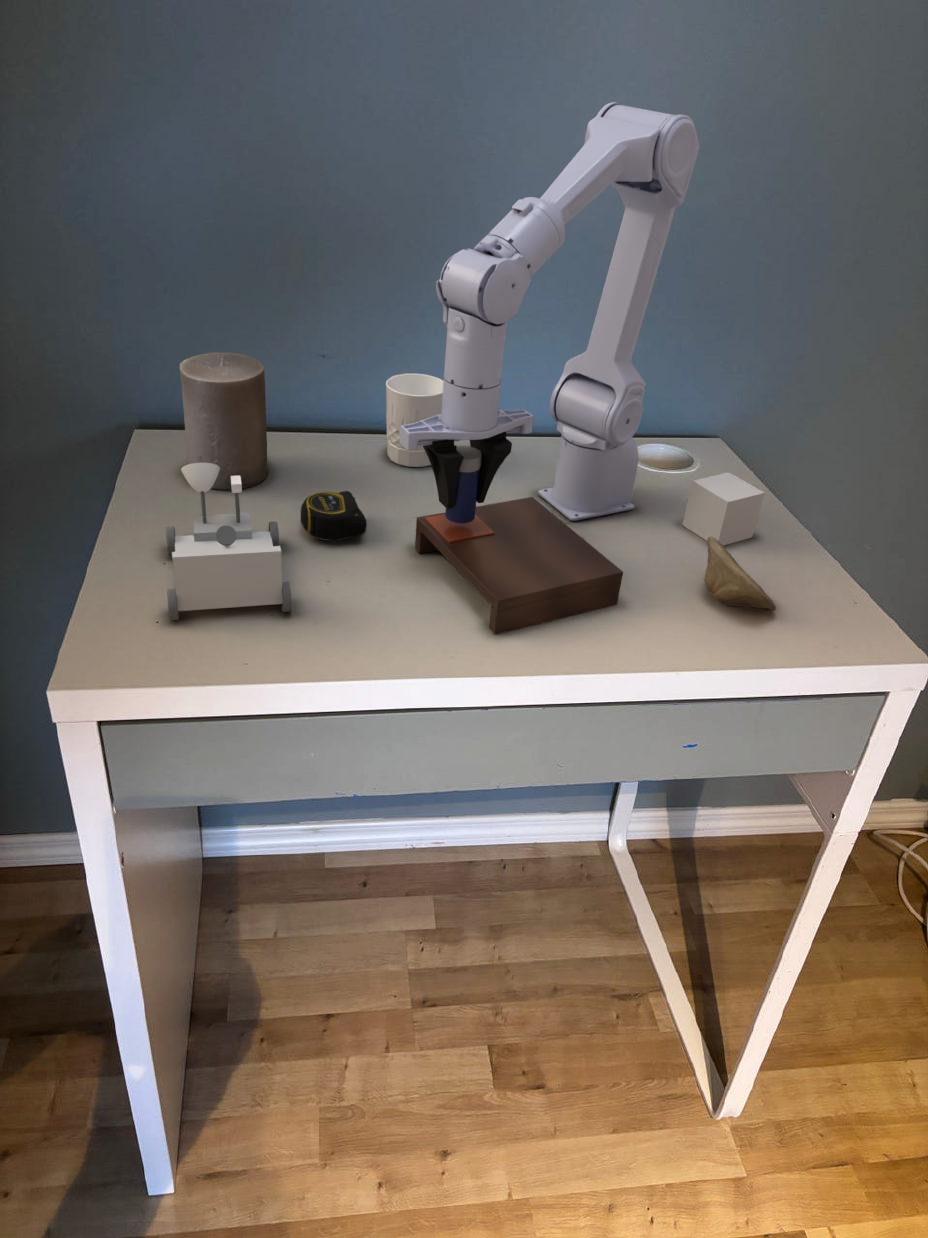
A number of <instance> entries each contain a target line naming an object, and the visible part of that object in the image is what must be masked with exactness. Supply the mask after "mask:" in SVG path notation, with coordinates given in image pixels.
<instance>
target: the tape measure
mask: <svg viewBox="0 0 928 1238" xmlns="http://www.w3.org/2000/svg"><path fill="white" fill-rule="evenodd" d="M355 498H356V496H355V497H354V495H353V493H352V492H350V491H349V490H344V491H339V492H334V491H319V492H316V493H315V492H314V493H313V494H310V495H308V496H307V497H306V498H305V499H304V500H303V502H302V504H301V506H300V507H301V508H300V523H301V525H302V528H303V529H304V530H305V532H306V533H308V534H309V535H310V536H311V537H313V538H317V539H320V540H323V541H340V540H345V539H349V538H354V537H359V536H362V535H364V534H365V533H366V531H367V519H366V517H365V514H364V513H363V512H362V510H361V509H360V507H359V505H358V503H357V501H356V499H355Z"/></svg>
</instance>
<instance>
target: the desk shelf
mask: <svg viewBox="0 0 928 1238" xmlns="http://www.w3.org/2000/svg"><path fill="white" fill-rule="evenodd" d="M414 538H415V540H414V550H415V551H416V552H417V553H418V554H419V555H422V554H426V553H431V552H436V551H439V552H440V553H441V554H442V556H444V557H445V558H446V559H447V561H448V562H449V563H451V565H452V566H453V567H454V568H455V569H456V570H457V571H458V572H459V573H460V574H461V575H462V576H463V577H464V578H465V579H466V580H467V581H468V582H469V583H470V585H472V587H474V588H475V589H476V591H478V593H479V594H481V596H482V597H483V598H484V599H486V600H487V602H488V603H489V604H490V614H489V621H488V629H489V630H490V631H491V632H492V633H493V634H494V635H497V634H501V633H505V632H509V631H514V630H518V629H521V628H526V627H530V626H534V625H537V624H538V625H539V624H542V623H546V622H547V623H548V622H551V621H554V620H559V619H563V618H566V617H571V616H574V615H578V614H583V613H586V612H590V611H594V610H598V609H603V608H607V607H612V606H615V605H618V601H619V596H620V591H621V586H622V581H623V576H624V571H623V570H622V569H620V568H619V567H618V566H617V565H616V564H615V563H614V562H612V561H611V560H610V559H609V558H607V557H606V556H605V555H604V554H603V553H601V552H600V551H599V550H597V548H595V547H594V546H593V545H591V544H590V543H589V542H588V541H587V540H585V539H584V538H583V537H582V536H580V535H579V533H577V532H576V531H574V529H572V528H571V527H570V526H568V525H567V524H566V523H565V522H564V521H563V520H561V519H560V518H559V517H558V516H557V515H555V514H554V513H553V512H551V511H550V510H549V509H548V508H547V507H545V506H544V505H543V504H542V503H540V502H539V501H538V500H537V499H536V498H535V497H533V496H529V497H524V498H523V497H522V498H519V499H512V500H507V501H500V502H495V503H491V504H485V505H484V504H483V505H479V506H476V511H475V518H474V520H473V521H471V522H469V523H455V522H452V521H450V520H448V519H447V518H446V516H445V512H440V513H435V514H428V515H424V516H417V517H416V524H415V537H414Z"/></svg>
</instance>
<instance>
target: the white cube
mask: <svg viewBox="0 0 928 1238" xmlns="http://www.w3.org/2000/svg"><path fill="white" fill-rule="evenodd" d="M765 494H766V493H765V492H764V491H763V490H761V489H759V488H757V487H755V486H753V485H752V484H750V483H748V482H747V481H745V480H743V479H742V478H740V477H737V476H736V475H734V474H733V473H731V472H729V471H728V472H723V473H719V474H715V475H711V476H706V477H701V478H697V479H693V480H692V481H691V486H690V490H689V494H688V498H687V503H686V507H685V512H684V516H683V520H682V526H683V527H685V528H686V529H688V530H689V531H691V532H692V533H693V534H695V535H697V536H699V537H700V538H701V539H703V540H705V541H706V542H707V539H708V537H710V536H711V537H714V538H715V539H716V540H718V541H719V543H721V544H722V545H723V546H726V545H730V544H734V543H737V542H740V541H745V540H747V539H751V538H753V536H754V533H755V529H756V527H757V524H758V523H757V522H758V518H759V515H760V512H761V508H762V505H763V501H764V497H765Z"/></svg>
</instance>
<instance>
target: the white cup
mask: <svg viewBox="0 0 928 1238" xmlns="http://www.w3.org/2000/svg"><path fill="white" fill-rule="evenodd" d="M443 382H444V379H441V378H439V377H437V376H433V375H429V374H424V373H401V374H395V375H393V376H391V377H389V378H388V379H386V381H385V423H386V438H387V441H386V443H387V444H386V445H387V448H386V451H387V454H386V455H387V457H388V458H389V460H390V461H391V462H393V463H394V464H396V465H399V466H403V467H409V468H424V467H428V466H431V464H430V461H429V458H428V456H427V454H426V452H425V450H424V448H423V446H418V447H417V449H416V450H411V451H408V450H407V449H405V448H404V447H403V446H402V445H401V444H400V426H402V425H408V424H412V423H416V422H419V421H422V420H424V419H427V418H430V417H433V416H436V415H439V414H441V410H442V396H443Z"/></svg>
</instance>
